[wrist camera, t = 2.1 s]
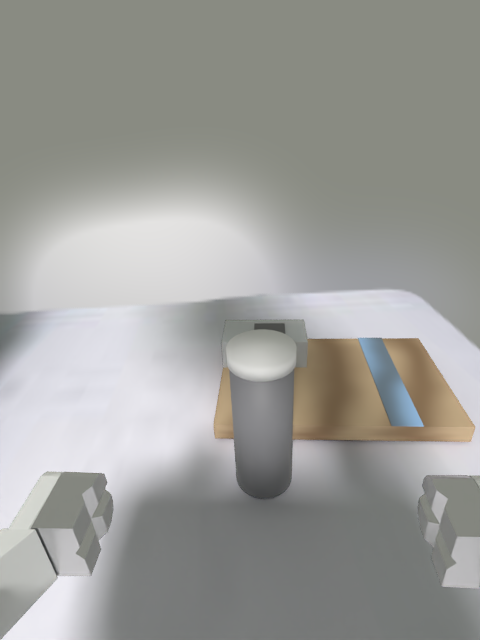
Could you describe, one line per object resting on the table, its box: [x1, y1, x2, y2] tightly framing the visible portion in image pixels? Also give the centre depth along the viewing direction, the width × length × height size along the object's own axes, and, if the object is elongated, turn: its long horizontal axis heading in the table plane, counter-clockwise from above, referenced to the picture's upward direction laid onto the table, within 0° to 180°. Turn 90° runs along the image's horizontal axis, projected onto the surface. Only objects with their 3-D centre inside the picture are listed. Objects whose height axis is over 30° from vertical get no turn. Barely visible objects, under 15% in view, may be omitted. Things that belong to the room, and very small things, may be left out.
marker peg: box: [226, 329, 297, 498], centre depth 26 cm, size 4×4×11 cm
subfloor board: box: [214, 338, 475, 442], centre depth 37 cm, size 20×13×2 cm, turn 87°
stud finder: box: [221, 320, 308, 367], centre depth 39 cm, size 8×4×3 cm, turn 87°
